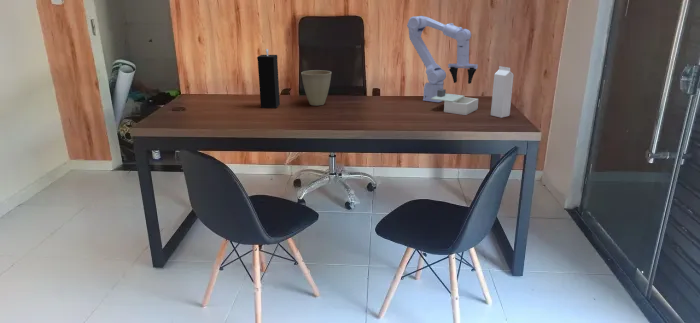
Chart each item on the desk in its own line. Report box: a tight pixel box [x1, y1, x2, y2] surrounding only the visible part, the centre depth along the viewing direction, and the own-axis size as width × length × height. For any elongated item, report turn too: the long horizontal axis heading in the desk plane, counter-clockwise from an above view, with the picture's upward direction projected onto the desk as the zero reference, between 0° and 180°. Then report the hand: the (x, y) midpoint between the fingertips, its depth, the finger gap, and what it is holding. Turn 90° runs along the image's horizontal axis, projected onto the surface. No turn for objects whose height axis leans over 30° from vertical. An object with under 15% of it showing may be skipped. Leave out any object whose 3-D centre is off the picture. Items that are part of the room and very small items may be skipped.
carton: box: [443, 97, 479, 116], centre depth 232 cm, size 11×14×5 cm
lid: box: [431, 88, 466, 102], centre depth 235 cm, size 11×14×4 cm
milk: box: [490, 65, 514, 119], centre depth 220 cm, size 6×6×22 cm
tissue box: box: [256, 48, 281, 109], centre depth 239 cm, size 8×8×28 cm
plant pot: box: [301, 69, 332, 106], centre depth 245 cm, size 15×15×16 cm
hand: (462, 83), depth 243 cm, fingers open, 7 cm apart
